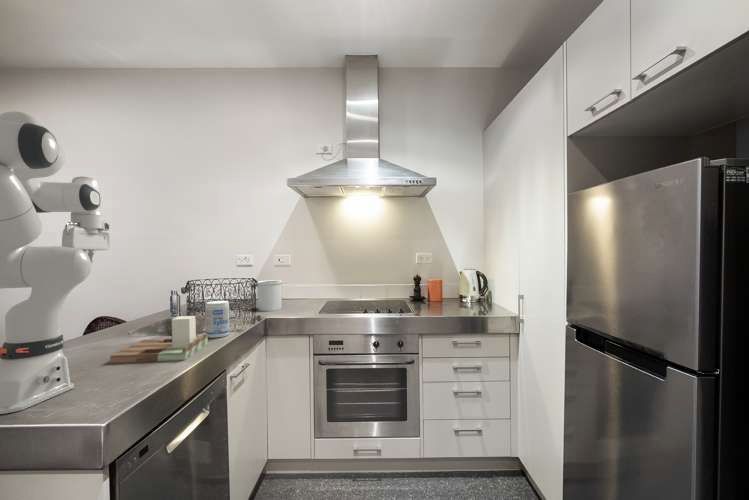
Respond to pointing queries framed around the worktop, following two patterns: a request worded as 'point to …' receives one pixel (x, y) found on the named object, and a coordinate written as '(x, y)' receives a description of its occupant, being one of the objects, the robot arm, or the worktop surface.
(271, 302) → the utensil holder
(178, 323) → the cream block
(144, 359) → the brown green flat slab
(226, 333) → the supplement tub
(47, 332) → the robot arm
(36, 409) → the worktop surface
